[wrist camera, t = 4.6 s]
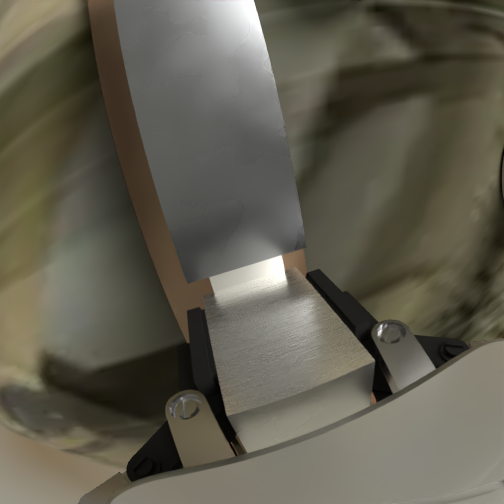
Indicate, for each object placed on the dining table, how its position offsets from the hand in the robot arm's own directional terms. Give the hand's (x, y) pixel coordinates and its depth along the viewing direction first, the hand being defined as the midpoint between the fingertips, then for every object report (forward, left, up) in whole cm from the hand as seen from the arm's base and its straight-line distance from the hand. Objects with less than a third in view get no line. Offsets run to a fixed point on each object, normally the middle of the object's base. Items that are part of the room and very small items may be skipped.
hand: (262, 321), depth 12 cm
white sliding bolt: (0, -6, -4) cm, 7 cm away
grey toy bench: (0, -12, -8) cm, 14 cm away
